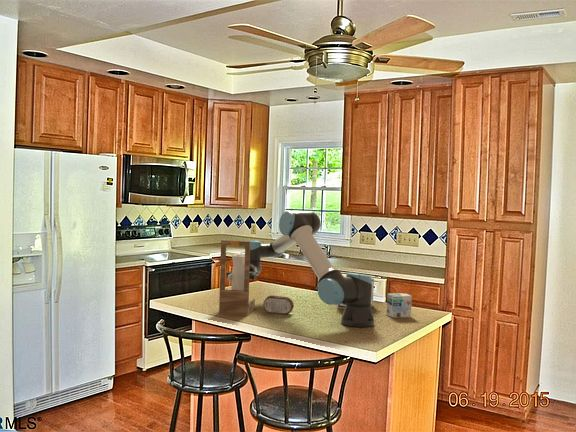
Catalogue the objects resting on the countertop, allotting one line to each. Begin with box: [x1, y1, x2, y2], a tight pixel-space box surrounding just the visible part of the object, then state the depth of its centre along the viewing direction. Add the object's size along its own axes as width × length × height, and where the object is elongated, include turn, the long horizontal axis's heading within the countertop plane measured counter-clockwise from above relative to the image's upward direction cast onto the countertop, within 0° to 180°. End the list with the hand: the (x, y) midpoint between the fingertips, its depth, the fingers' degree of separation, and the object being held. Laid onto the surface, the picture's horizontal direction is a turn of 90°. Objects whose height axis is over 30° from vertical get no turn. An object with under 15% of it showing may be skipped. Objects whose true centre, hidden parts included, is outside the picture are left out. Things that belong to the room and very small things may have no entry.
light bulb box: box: [385, 292, 413, 318], centre depth 273 cm, size 11×7×11 cm, turn 105°
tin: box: [263, 295, 294, 315], centre depth 270 cm, size 15×3×8 cm, turn 74°
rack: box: [218, 239, 256, 317], centre depth 270 cm, size 15×14×36 cm
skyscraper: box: [230, 251, 245, 291], centre depth 271 cm, size 8×8×28 cm
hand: (235, 278), depth 266 cm, fingers closed on skyscraper, 7 cm apart
